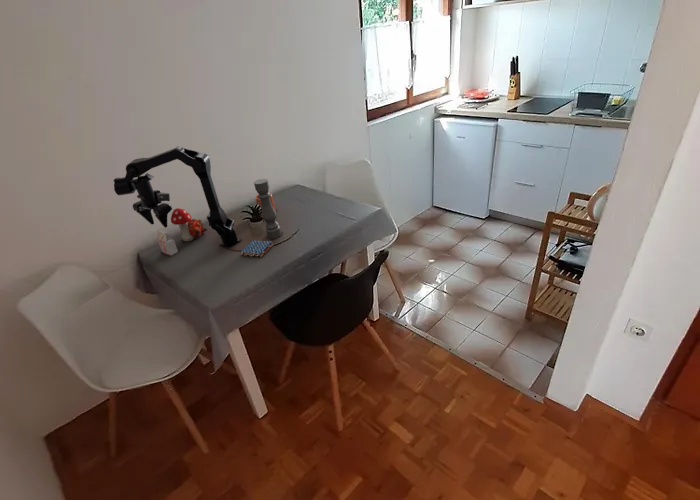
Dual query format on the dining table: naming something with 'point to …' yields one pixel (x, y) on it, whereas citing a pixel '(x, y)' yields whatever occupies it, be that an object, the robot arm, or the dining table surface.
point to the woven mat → (256, 248)
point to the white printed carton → (166, 244)
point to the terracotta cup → (261, 203)
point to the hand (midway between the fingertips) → (159, 225)
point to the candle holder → (267, 209)
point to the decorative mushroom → (182, 223)
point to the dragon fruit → (196, 228)
